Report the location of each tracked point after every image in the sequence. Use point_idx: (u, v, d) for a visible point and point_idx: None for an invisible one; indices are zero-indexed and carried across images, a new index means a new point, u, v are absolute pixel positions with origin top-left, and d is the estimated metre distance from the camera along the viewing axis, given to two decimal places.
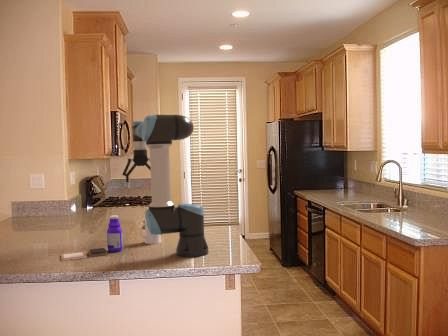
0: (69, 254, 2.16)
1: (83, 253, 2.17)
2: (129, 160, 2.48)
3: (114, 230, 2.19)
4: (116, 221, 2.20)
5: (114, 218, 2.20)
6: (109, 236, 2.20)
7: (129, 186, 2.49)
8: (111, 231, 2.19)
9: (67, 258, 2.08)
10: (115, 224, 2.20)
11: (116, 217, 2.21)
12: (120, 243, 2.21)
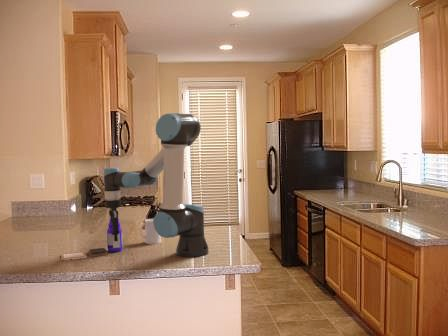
0: (69, 254, 2.16)
1: (83, 253, 2.17)
2: None
3: None
4: None
5: None
6: (109, 236, 2.20)
7: None
8: (111, 231, 2.19)
9: (67, 258, 2.08)
10: None
11: None
12: (120, 243, 2.21)
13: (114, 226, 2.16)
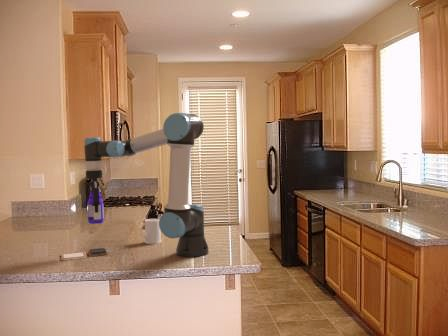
0: (69, 254, 2.16)
1: (83, 253, 2.17)
2: None
3: None
4: None
5: None
6: (90, 207, 2.14)
7: None
8: (91, 203, 2.14)
9: (67, 258, 2.08)
10: None
11: None
12: (101, 215, 2.15)
13: (94, 197, 2.10)
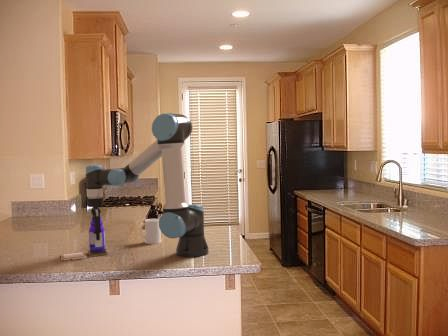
0: (69, 254, 2.16)
1: (83, 253, 2.17)
2: None
3: None
4: None
5: None
6: (91, 235, 2.15)
7: None
8: (93, 230, 2.14)
9: (67, 258, 2.08)
10: None
11: None
12: (102, 242, 2.16)
13: (96, 225, 2.11)
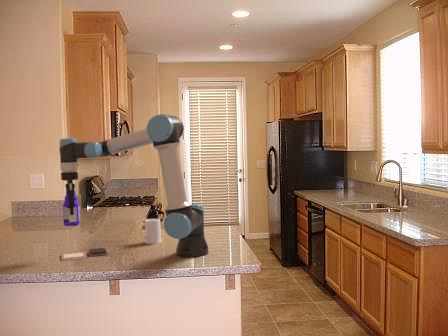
0: (69, 254, 2.16)
1: (83, 253, 2.17)
2: None
3: None
4: None
5: None
6: (65, 210, 2.10)
7: None
8: (66, 205, 2.10)
9: (67, 258, 2.08)
10: None
11: None
12: (77, 217, 2.11)
13: (69, 199, 2.06)
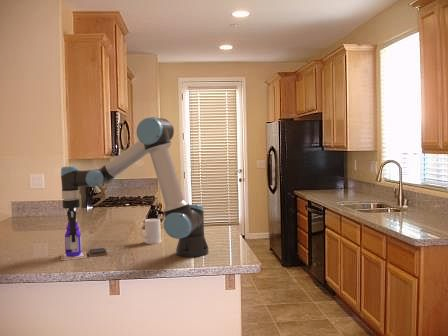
0: None
1: (83, 253, 2.17)
2: (68, 211, 2.18)
3: None
4: None
5: None
6: (67, 240, 2.11)
7: None
8: (68, 235, 2.10)
9: (67, 258, 2.08)
10: None
11: None
12: (78, 247, 2.12)
13: (71, 226, 2.06)
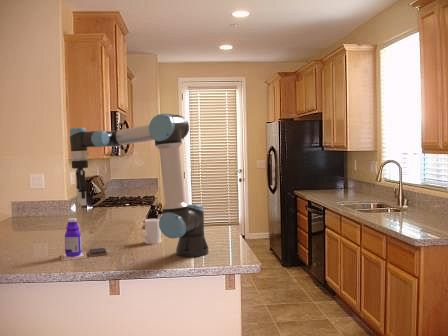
0: None
1: (83, 253, 2.17)
2: (76, 171, 2.24)
3: (72, 234, 2.11)
4: (74, 224, 2.12)
5: (72, 221, 2.11)
6: (67, 240, 2.11)
7: None
8: (68, 235, 2.11)
9: (67, 258, 2.08)
10: (73, 227, 2.11)
11: (74, 220, 2.12)
12: (78, 247, 2.12)
13: (81, 182, 2.11)
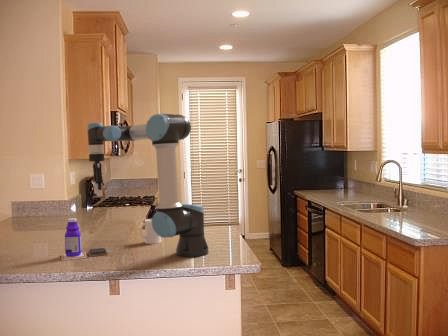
0: None
1: (83, 253, 2.17)
2: (93, 164, 2.36)
3: (72, 234, 2.11)
4: (74, 224, 2.12)
5: (72, 221, 2.11)
6: (67, 240, 2.11)
7: (94, 191, 2.37)
8: (68, 235, 2.11)
9: (67, 258, 2.08)
10: (73, 227, 2.11)
11: (74, 220, 2.12)
12: (78, 247, 2.12)
13: (97, 174, 2.23)
